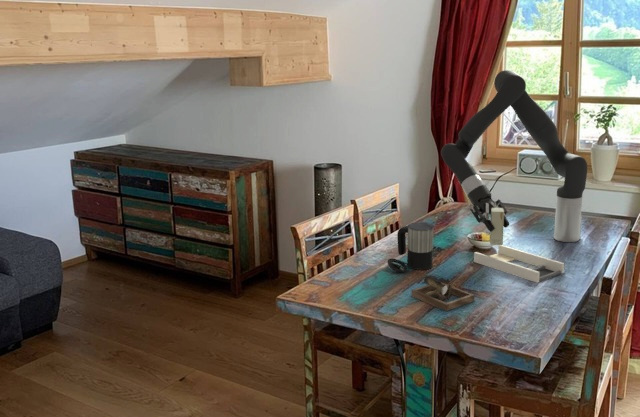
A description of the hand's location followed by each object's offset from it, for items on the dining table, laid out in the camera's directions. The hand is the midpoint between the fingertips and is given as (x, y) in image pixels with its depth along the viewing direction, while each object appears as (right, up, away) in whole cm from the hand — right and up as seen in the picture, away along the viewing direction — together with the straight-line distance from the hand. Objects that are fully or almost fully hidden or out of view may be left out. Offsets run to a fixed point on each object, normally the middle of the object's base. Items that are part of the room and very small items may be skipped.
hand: (500, 228), depth 238 cm
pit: (+11, -15, -11) cm, 22 cm away
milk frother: (-31, -14, 0) cm, 34 cm away
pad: (0, -12, +4) cm, 12 cm away
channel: (+5, -13, -3) cm, 15 cm away
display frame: (-25, -21, -28) cm, 43 cm away
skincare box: (-1, -5, +3) cm, 6 cm away
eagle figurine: (-27, -21, -27) cm, 44 cm away
